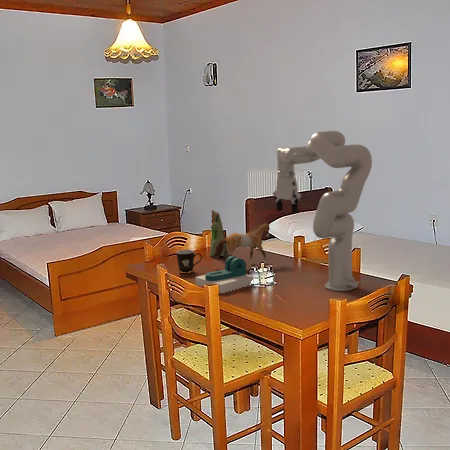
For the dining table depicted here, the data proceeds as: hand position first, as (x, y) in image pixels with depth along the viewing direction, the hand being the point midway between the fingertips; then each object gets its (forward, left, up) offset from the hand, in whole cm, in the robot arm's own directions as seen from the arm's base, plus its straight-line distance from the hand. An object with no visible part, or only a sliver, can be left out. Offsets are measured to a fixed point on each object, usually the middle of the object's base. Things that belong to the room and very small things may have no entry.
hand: (287, 211), depth 259 cm
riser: (+4, +36, -28) cm, 46 cm away
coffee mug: (+35, +33, -28) cm, 56 cm away
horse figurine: (+25, +8, -28) cm, 39 cm away
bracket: (+4, +36, -24) cm, 44 cm away
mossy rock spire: (+50, +3, -28) cm, 58 cm away
